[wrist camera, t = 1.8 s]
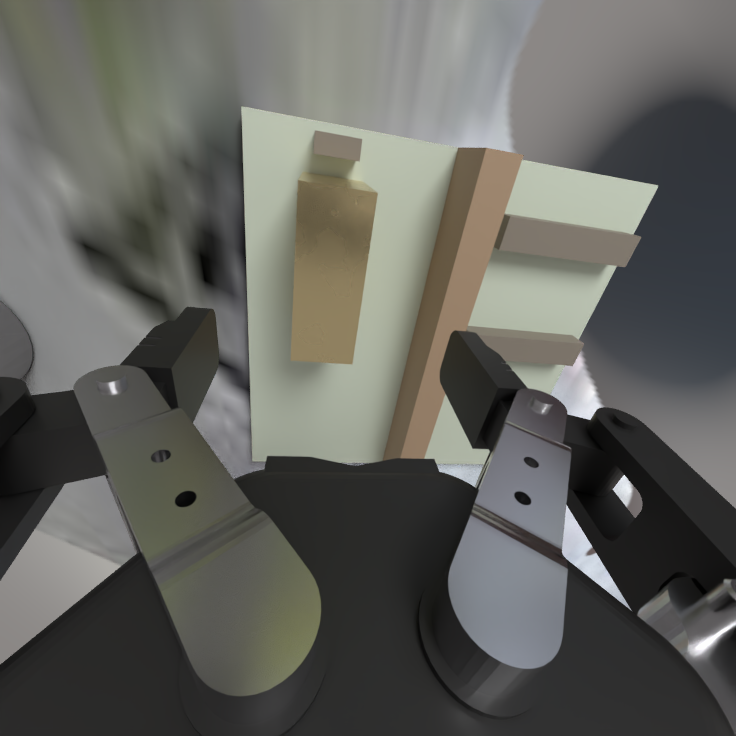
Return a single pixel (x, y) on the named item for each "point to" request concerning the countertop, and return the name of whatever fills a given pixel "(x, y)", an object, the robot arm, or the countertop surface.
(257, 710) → the robot arm
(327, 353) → the bar
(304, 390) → the door board
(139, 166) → the countertop surface
